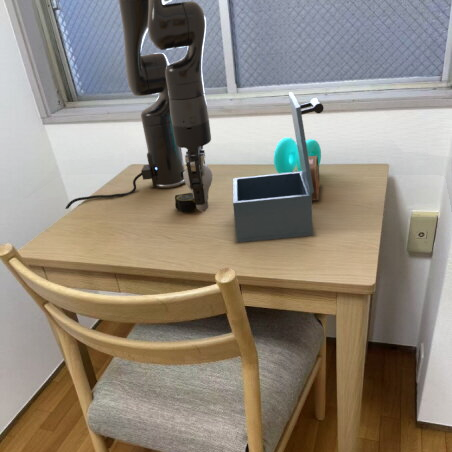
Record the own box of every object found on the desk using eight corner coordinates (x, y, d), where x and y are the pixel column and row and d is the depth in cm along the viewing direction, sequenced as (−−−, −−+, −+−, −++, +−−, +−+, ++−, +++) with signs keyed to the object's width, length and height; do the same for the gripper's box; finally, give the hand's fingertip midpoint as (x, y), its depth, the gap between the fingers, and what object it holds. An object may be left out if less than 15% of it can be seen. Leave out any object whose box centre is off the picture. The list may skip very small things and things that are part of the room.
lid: (296, 108, 85) (325, 100, 85) (288, 92, 98) (314, 85, 97) (309, 193, 94) (337, 187, 94) (301, 169, 107) (325, 163, 106)
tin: (317, 205, 112) (317, 171, 107) (304, 206, 113) (303, 171, 108) (320, 182, 124) (320, 150, 119) (307, 183, 125) (307, 151, 120)
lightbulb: (220, 205, 108) (214, 158, 102) (211, 217, 103) (204, 168, 97) (195, 205, 110) (188, 158, 104) (185, 216, 105) (177, 167, 99)
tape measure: (203, 203, 121) (201, 189, 119) (204, 213, 115) (202, 199, 113) (176, 207, 121) (174, 192, 119) (176, 217, 115) (173, 203, 113)
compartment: (237, 242, 101) (233, 203, 96) (237, 214, 113) (233, 178, 108) (312, 235, 99) (312, 195, 95) (303, 208, 112) (303, 171, 107)
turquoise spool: (290, 168, 136) (289, 132, 130) (322, 171, 131) (323, 134, 125) (272, 180, 130) (270, 143, 124) (305, 184, 124) (305, 146, 119)
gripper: (175, 112, 102) (187, 187, 111) (167, 131, 90) (181, 213, 99) (210, 109, 101) (219, 184, 111) (206, 127, 89) (217, 210, 99)
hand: (201, 198), depth 105 cm, fingers closed on lightbulb, 6 cm apart
